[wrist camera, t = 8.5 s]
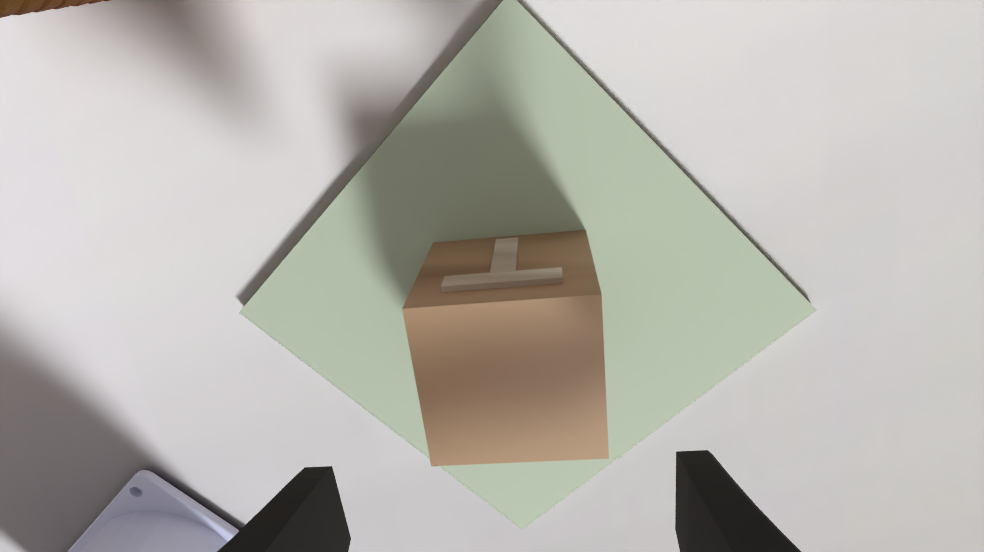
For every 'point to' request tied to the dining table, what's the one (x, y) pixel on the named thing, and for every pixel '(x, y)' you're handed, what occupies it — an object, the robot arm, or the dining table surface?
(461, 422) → the letter cube
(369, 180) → the mat
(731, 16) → the dining table surface
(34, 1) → the disposable coffee cup
